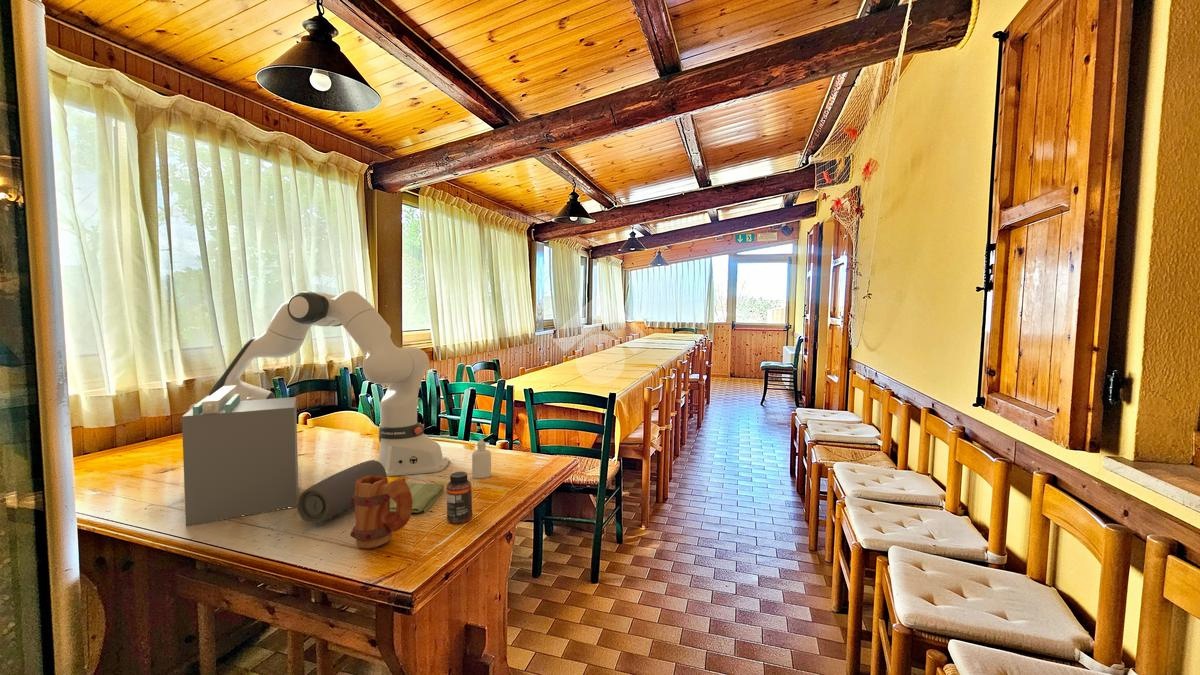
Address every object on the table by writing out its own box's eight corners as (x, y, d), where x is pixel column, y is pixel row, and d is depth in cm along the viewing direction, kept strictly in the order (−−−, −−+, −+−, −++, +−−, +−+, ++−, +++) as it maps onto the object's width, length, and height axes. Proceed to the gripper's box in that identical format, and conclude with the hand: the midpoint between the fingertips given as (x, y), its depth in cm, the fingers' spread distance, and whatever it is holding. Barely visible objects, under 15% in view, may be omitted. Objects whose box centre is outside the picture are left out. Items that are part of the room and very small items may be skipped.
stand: (201, 500, 128) (197, 396, 127) (298, 485, 139) (295, 390, 138) (185, 526, 113) (181, 407, 111) (296, 507, 124) (293, 399, 123)
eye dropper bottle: (477, 473, 151) (476, 435, 150) (493, 475, 149) (493, 437, 149) (469, 478, 146) (469, 439, 146) (486, 479, 145) (486, 440, 144)
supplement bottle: (464, 512, 121) (464, 468, 121) (476, 519, 117) (476, 473, 116) (442, 519, 117) (441, 473, 116) (454, 527, 113) (453, 479, 112)
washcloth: (372, 516, 119) (371, 504, 119) (402, 490, 137) (402, 479, 137) (424, 517, 119) (424, 505, 119) (448, 491, 137) (448, 480, 137)
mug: (341, 548, 102) (340, 478, 102) (372, 532, 110) (370, 467, 109) (395, 560, 97) (393, 487, 96) (423, 543, 105) (422, 475, 104)
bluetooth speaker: (330, 530, 111) (329, 488, 110) (295, 527, 112) (294, 485, 112) (389, 494, 133) (388, 458, 133) (358, 492, 135) (358, 457, 134)
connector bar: (223, 396, 138) (223, 386, 138) (236, 395, 140) (236, 385, 140) (199, 416, 112) (199, 403, 111) (216, 415, 113) (215, 402, 113)
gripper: (194, 410, 146) (184, 393, 136) (274, 404, 157) (271, 388, 146) (192, 430, 144) (182, 414, 133) (274, 423, 154) (271, 408, 144)
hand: (229, 401), depth 140 cm, fingers open, 8 cm apart
